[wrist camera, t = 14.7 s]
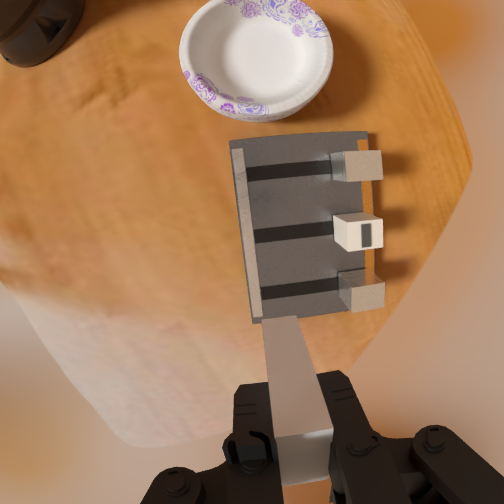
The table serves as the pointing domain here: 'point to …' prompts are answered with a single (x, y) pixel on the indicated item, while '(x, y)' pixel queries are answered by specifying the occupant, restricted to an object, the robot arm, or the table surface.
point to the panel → (305, 222)
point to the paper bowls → (256, 57)
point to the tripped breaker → (358, 231)
